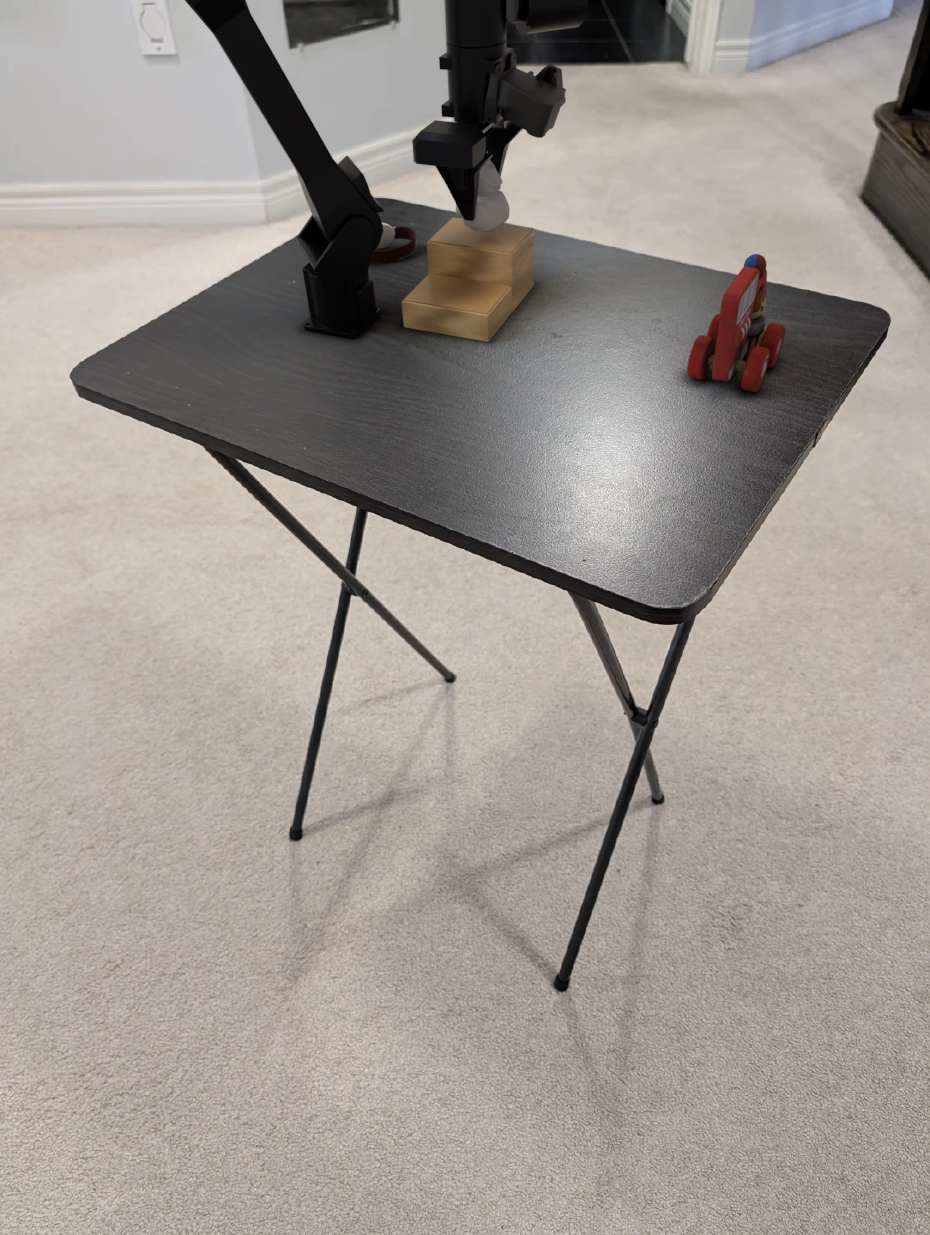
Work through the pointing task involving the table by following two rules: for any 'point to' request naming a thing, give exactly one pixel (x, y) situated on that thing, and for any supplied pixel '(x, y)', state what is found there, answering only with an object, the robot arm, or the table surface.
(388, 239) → the watch
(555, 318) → the table surface
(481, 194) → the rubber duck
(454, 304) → the step shelf
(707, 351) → the toy fire truck
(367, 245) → the robot arm
